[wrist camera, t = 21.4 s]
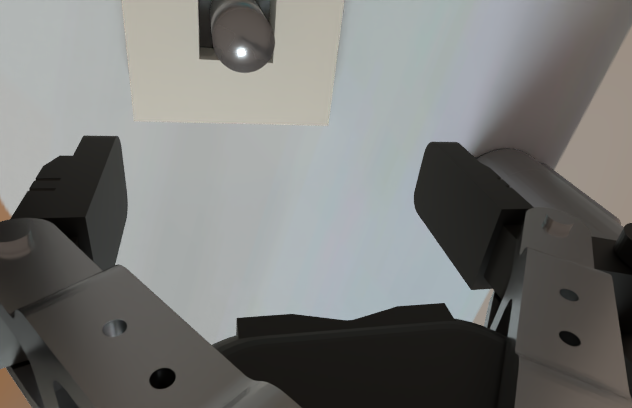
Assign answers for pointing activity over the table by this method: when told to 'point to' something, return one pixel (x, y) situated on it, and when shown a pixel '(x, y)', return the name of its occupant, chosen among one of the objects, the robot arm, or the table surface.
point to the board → (223, 83)
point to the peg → (241, 35)
